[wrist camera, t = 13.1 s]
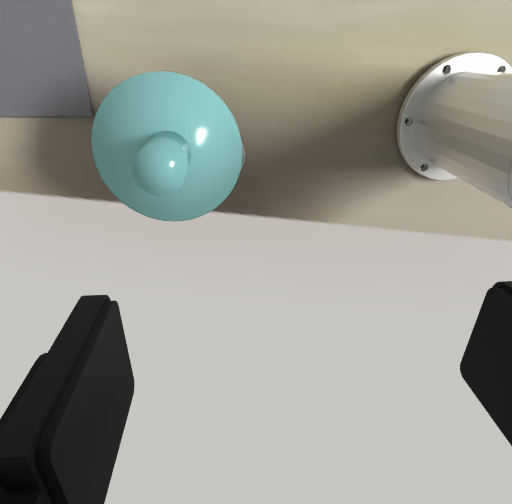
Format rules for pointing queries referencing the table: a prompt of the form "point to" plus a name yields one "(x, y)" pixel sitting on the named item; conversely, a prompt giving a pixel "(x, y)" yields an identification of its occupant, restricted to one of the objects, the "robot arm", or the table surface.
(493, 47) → the table surface
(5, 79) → the mat
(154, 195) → the lid
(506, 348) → the robot arm
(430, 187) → the table surface
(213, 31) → the table surface
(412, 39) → the table surface
